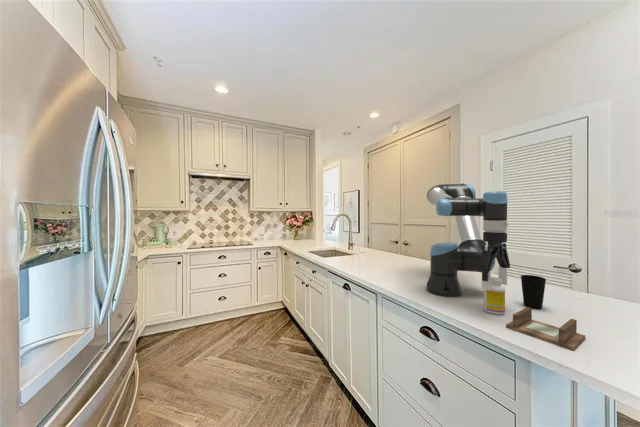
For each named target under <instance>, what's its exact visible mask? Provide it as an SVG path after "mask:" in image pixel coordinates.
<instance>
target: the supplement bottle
mask: <svg viewBox="0 0 640 427" xmlns="http://www.w3.org/2000/svg"><path fill="white" fill-rule="evenodd" d="M501 283H502V279H499V278H498V277H494V276H493V277H492V276H491V290H490V291H489V290H485V289H483V310H484V311H485V312H487V313H489V314H492V315H497V316H500V315H501V316H502V315H504V314H505V313H506V288H505V287H504V285H502V284H501Z"/></svg>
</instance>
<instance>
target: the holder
mask: <svg viewBox="0 0 640 427" xmlns="http://www.w3.org/2000/svg"><path fill="white" fill-rule="evenodd" d="M532 310H533V309H532V308H530V307H526V306H525V308H522V309H521V310H519V311H517V312H515V313H513V314H512V320H511V321H509V322H508V323H506V324H505V328H507V329H508V330H513V331H515V332H518V333H521V334H525V335H527V336H530V337H533V338H536V339H537V340H542V341H544V342H547V343H551V344H553V345H555V344H556V346H558V345H559V347H561V346H562V348H564V347H565V349H567V348H568V349H567V350H570V351H574V352H575V350H576V349H577V348H578V347H579V346H580V345H581V344H582V343H583V342H584V341H585V340H586V335H585V334H583V333H582V334H581V333H578V332H577V319H575V318H569V320H568V321H566V322H565V323H563V325H561V326H559V327H558V326H556V325H555V326H554V325H551V324H548V323H545V322H543V321H538V320H536V319H532V317H533V316H532V314H533V312H532Z"/></svg>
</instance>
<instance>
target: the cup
mask: <svg viewBox="0 0 640 427" xmlns="http://www.w3.org/2000/svg"><path fill="white" fill-rule="evenodd" d="M520 280H521V290H522V291H521V292H522V299H523V301H522V302H523V306H524V307H525V308H526V307H530V308H532V310H543V303H544V297H545V288H546V281H547V279H546V278H545V277H543V276H538V275H531V274H523V275H522V274H521V275H520Z"/></svg>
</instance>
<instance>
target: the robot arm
mask: <svg viewBox="0 0 640 427" xmlns="http://www.w3.org/2000/svg"><path fill="white" fill-rule="evenodd" d="M426 199H427V201H428V202H429V204H431V205H434V206H435V209H436V210H435V211H436V214H437V215H438V216H439V217H441V216H442V217H455V220H456V225H457V226H456V227H457V229H458V234H459V238H460V241H461V242H459V244H458V243H457V242H440V243H435V244H433V245H431V247H430V251H429V252H430V254H429V256H430V274H429V277H428V279H427V283H426V286H425V287H426V288H425V289H426V291H427V292H429V293H430V294H433V295H437V296H442V297H452V298H453V297H459V296H461V295H462V287H461V284H460V281H459V278H458V272H471V273H472V272H473V273H476V272H477V273H481V289H482V290H484V289H485V290H489V291H490V290H491V277H492V273H491V271H492V270H494V267H495V265H496V261H497V263H498V265H499V266H498V268H497V270H498V274H497V276H498V277H497V278H499V279H502V283H501V285H503V286H504V285H505V286H508V269H511V263H510V258H509V254H508V249H507V242H508V233H507V231H508V226H509V223H508V203H509V200H508V195H507V192H506V191H501V190H500V191H499V190H494V191H492V190H491V191H485V192H484V193H483V194H482V197H481V198H477V195H476V189H475V188H474V186H473V185H472V184H470V183H449V184H448V183H447V184H446V183H444V184H443V183H442V184H438V185H434V186H432V187H431V188H430V189H428V191H427V192H426ZM475 217H483V218H482V230H483V232H482V237H481V233H480V231H479V227H478V225H477V221H476V218H475Z"/></svg>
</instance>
